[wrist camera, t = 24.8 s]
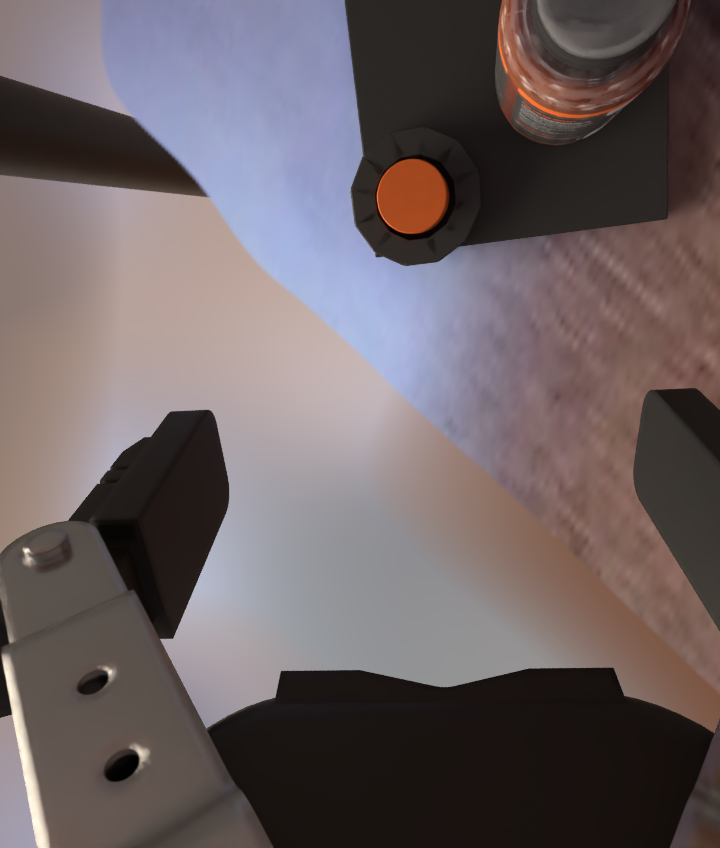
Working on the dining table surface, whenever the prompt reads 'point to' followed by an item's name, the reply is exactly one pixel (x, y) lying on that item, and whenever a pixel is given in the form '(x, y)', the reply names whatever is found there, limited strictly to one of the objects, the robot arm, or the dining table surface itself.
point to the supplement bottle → (580, 61)
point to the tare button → (412, 196)
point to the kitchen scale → (486, 136)
